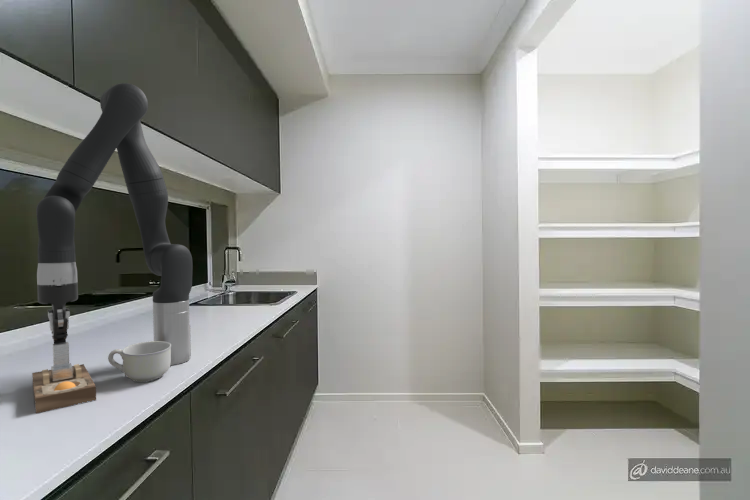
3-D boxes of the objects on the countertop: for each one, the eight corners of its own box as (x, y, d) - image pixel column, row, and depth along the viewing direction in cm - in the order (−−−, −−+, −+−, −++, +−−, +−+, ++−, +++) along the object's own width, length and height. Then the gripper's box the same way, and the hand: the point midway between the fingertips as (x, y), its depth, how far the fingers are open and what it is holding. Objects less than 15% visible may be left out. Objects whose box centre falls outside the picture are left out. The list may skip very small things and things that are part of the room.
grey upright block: (51, 377, 94) (50, 344, 93) (71, 373, 96) (70, 341, 96) (52, 381, 91) (51, 347, 90) (72, 377, 93) (71, 344, 93)
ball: (66, 404, 86) (65, 405, 89) (82, 387, 89) (80, 388, 91) (48, 393, 85) (47, 395, 88) (65, 376, 87) (63, 378, 90)
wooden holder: (32, 385, 97) (32, 364, 97) (83, 375, 104) (83, 356, 104) (36, 413, 82) (35, 388, 81) (96, 400, 88) (95, 377, 88)
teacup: (179, 370, 108) (178, 340, 108) (158, 385, 97) (158, 352, 97) (125, 371, 107) (124, 341, 107) (98, 386, 97) (98, 352, 96)
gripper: (36, 280, 99) (38, 351, 99) (38, 285, 89) (40, 364, 89) (74, 278, 104) (76, 346, 104) (80, 282, 94) (82, 357, 94)
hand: (60, 354), depth 97 cm, fingers closed
